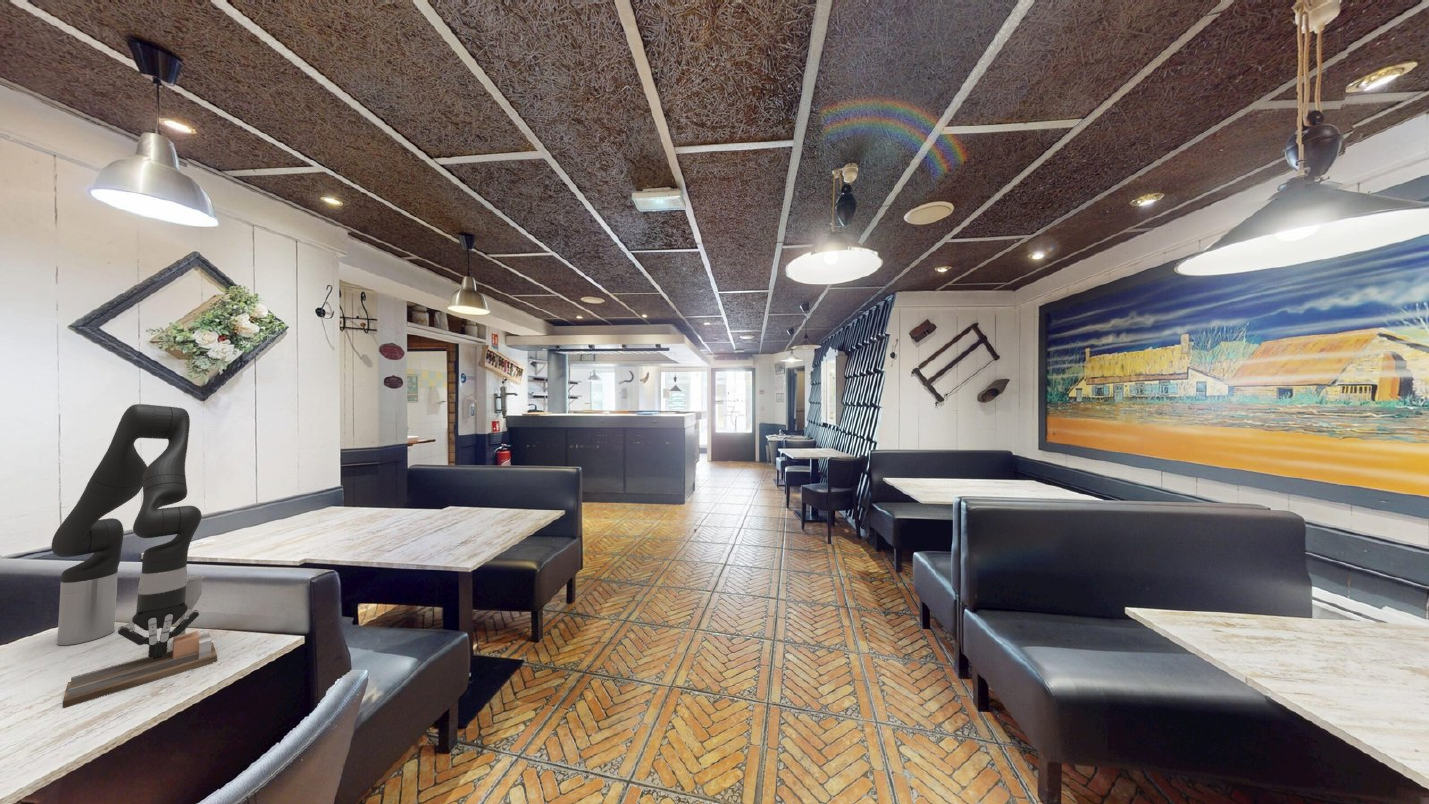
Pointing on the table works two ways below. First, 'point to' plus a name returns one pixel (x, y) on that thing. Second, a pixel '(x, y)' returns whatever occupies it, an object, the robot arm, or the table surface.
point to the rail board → (136, 673)
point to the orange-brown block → (185, 644)
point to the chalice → (191, 597)
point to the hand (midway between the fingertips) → (157, 657)
